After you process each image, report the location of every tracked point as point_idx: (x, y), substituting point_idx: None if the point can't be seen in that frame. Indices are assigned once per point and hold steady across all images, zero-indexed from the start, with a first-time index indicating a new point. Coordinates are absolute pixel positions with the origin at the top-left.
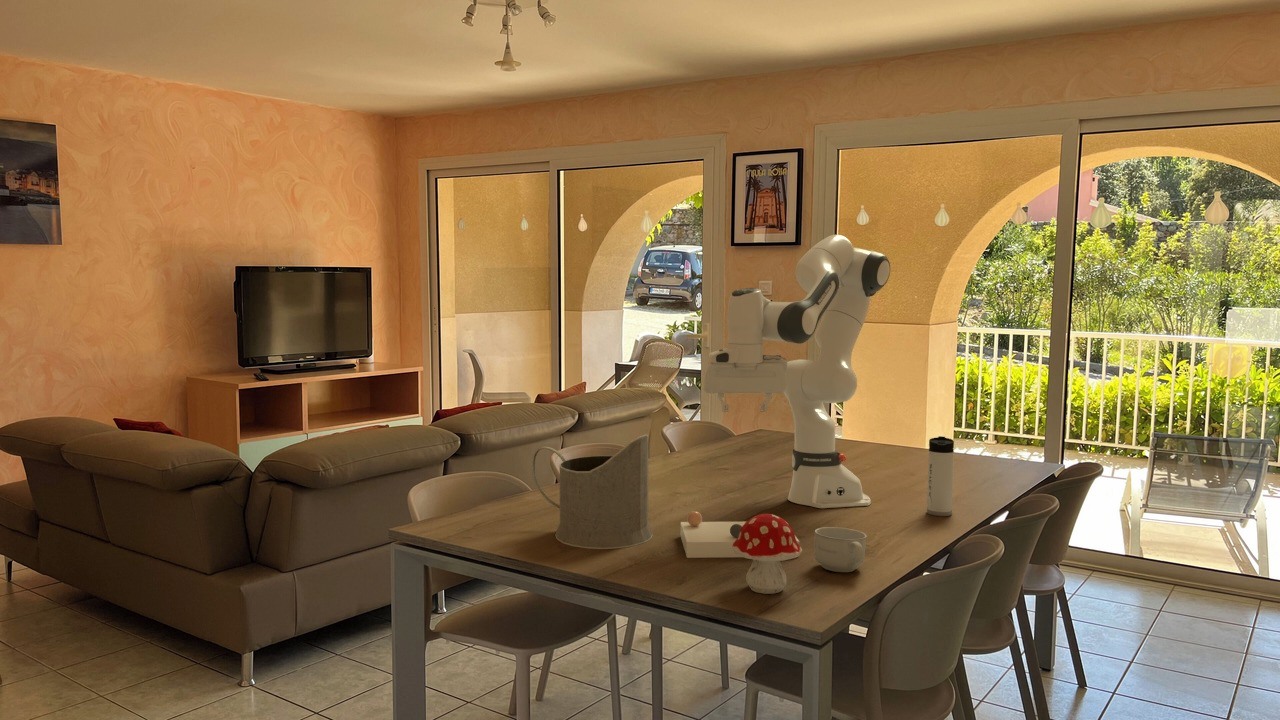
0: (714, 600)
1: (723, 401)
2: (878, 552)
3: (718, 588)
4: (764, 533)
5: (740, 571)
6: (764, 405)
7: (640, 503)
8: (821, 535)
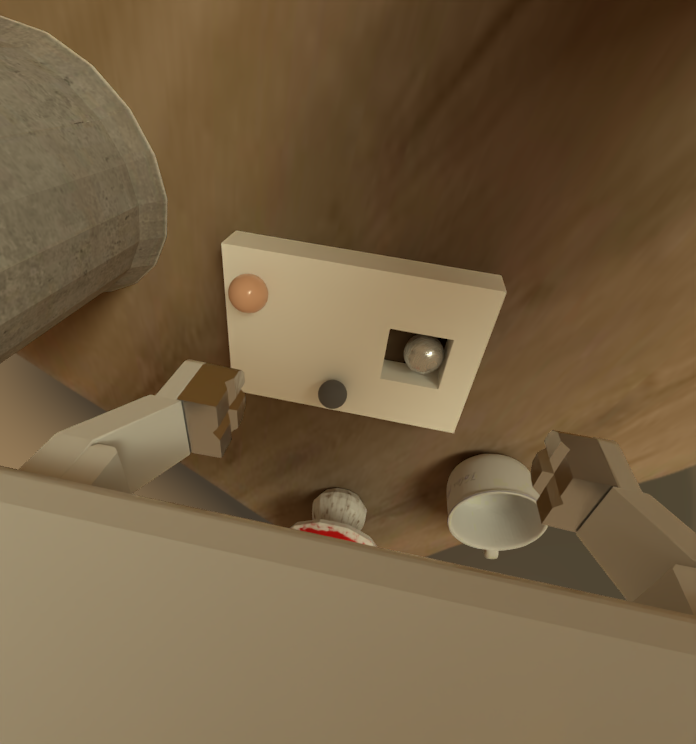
0: (269, 510)
1: (159, 474)
2: (629, 425)
3: (279, 485)
4: None
5: (323, 444)
6: (573, 523)
7: (87, 296)
8: (449, 529)
